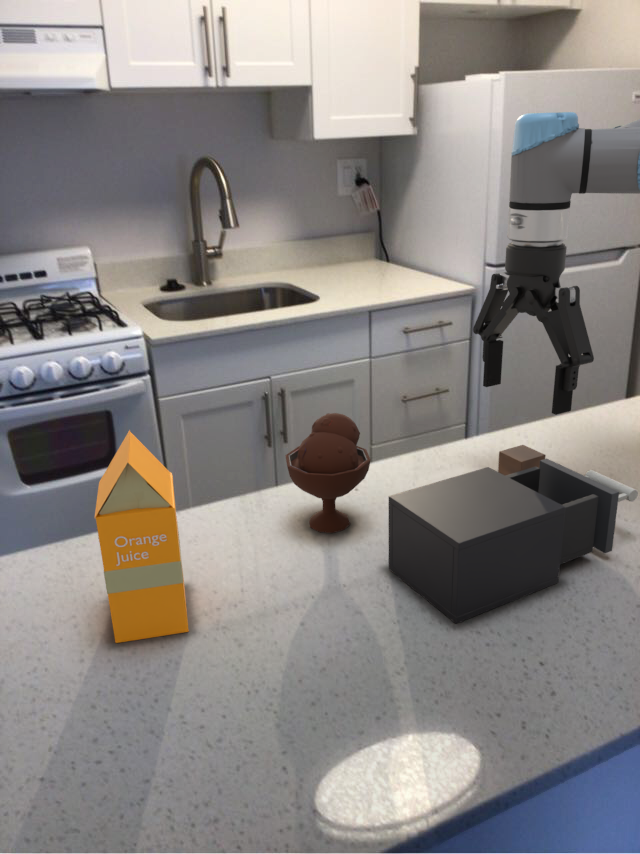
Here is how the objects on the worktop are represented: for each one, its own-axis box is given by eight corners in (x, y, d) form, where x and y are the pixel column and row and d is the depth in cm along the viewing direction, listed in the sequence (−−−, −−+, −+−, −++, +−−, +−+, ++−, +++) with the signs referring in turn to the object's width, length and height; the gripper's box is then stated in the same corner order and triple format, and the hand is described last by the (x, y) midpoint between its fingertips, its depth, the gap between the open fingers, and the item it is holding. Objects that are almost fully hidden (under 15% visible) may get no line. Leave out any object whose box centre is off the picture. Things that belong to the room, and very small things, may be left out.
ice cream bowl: (297, 501, 106) (293, 401, 101) (376, 507, 104) (376, 404, 98) (278, 539, 97) (272, 430, 91) (365, 546, 94) (363, 434, 89)
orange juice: (185, 586, 87) (167, 424, 80) (190, 631, 79) (170, 456, 72) (116, 596, 86) (90, 432, 78) (113, 644, 78) (84, 466, 70)
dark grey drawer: (577, 501, 102) (582, 447, 99) (648, 536, 92) (656, 478, 89) (460, 540, 93) (462, 483, 90) (526, 584, 84) (531, 522, 81)
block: (521, 472, 113) (522, 444, 111) (543, 484, 109) (545, 454, 107) (497, 480, 111) (498, 451, 109) (519, 491, 107) (521, 462, 105)
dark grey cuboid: (484, 535, 96) (488, 466, 92) (558, 582, 85) (565, 506, 82) (388, 568, 89) (388, 495, 86) (456, 624, 79) (459, 543, 75)
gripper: (452, 234, 106) (447, 379, 114) (591, 256, 85) (573, 431, 93) (493, 230, 109) (485, 371, 117) (636, 250, 89) (615, 419, 96)
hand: (524, 398), depth 105 cm, fingers open, 13 cm apart
